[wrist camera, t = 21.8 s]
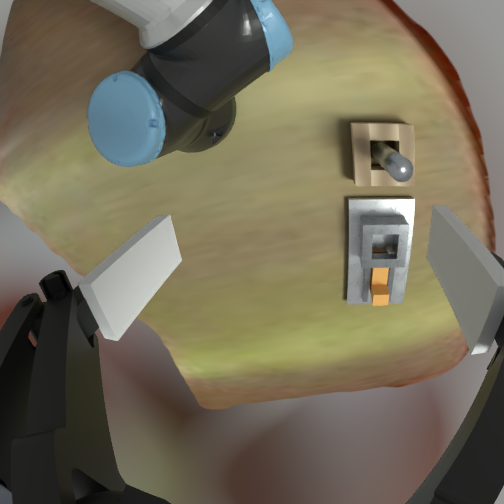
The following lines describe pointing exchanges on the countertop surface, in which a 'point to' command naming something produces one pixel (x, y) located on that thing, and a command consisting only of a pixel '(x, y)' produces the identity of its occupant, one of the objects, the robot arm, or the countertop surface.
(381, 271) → the orange block
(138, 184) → the countertop surface
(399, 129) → the light wood square frame
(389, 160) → the peg
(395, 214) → the socket station
